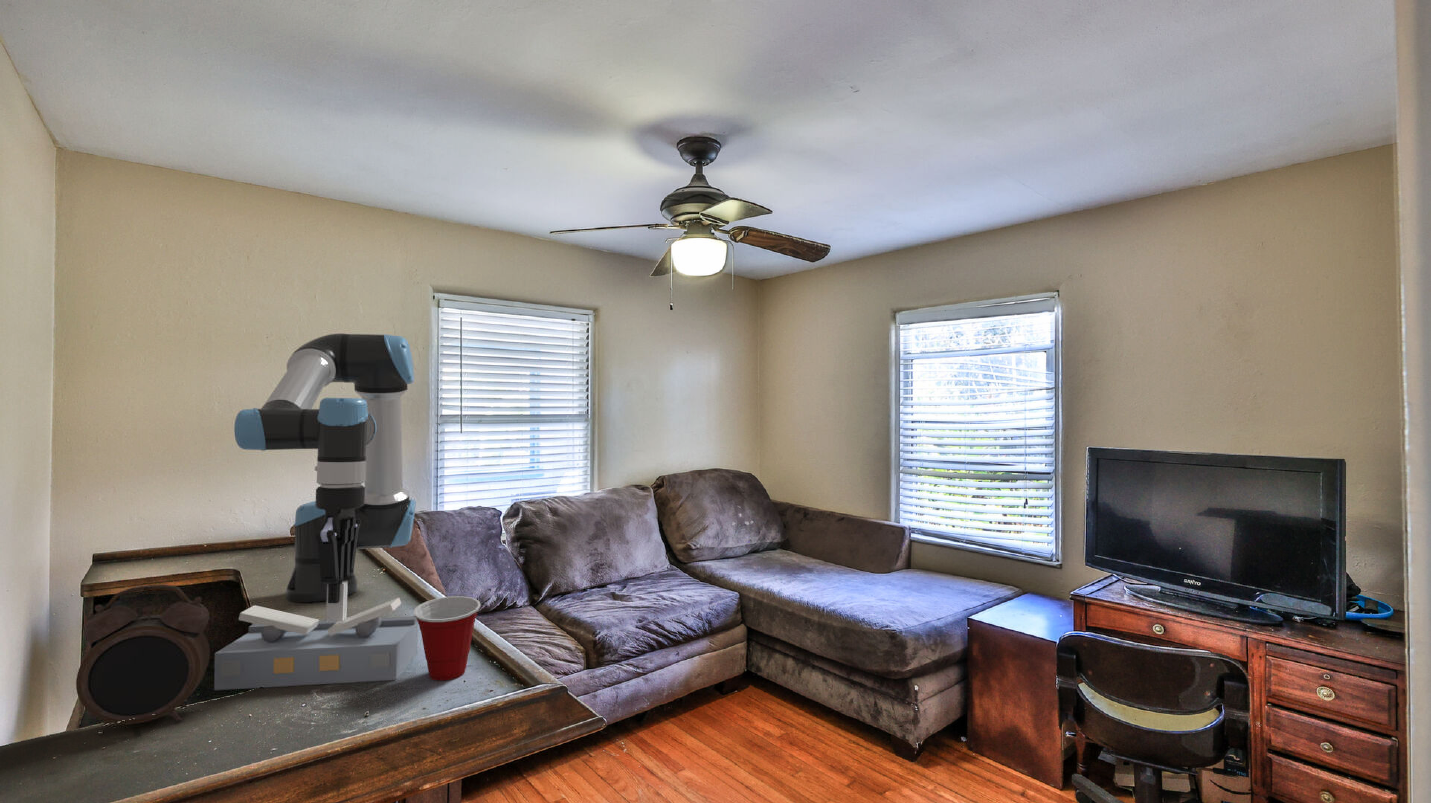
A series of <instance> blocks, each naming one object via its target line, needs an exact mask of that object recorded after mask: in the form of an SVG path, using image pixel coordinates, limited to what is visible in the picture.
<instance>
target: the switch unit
mask: <svg viewBox="0 0 1431 803" xmlns="http://www.w3.org/2000/svg"><path fill="white" fill-rule="evenodd" d="M381 620H382V622H381V625H380V626H379V627H378V628H377V629H376V630H375V631H374V632H372V633H371V634H370V635H369V636H367V637H360V636H358V635H357V633H356V630H355V629H356V626H354V627H352V628H349V629H347V630H344V631H342V632H339V633H337V634H334V635H332V636H330V635H329V633H328V629H329V628H330V627H331V626H333V625H334V624H335V623H337V622H338V621H326V619H325V620H322V619H321V620H320V619H319V622H318V625H317V627H316V628H314V629H313V630H311V631H310V632H309V633H307V634H306V635H304V634H300V633H295V632H291V631H288V632H286V633H285V634H284V635H282V636H281V637H279V638H278V639H276V640H275V641H272V642H267V641H265V640H263V638H262V636H261V632H262V630H263V629H264V628H265V627H266V626H264V625H259V624H255V623H252V624H251V625H250V626H248V632H247V633H246V634H244V635H242V636H241V637H239V638H238V639H235V640H234V641H233V642H231V643H229V644H227V645H225V647H223V648H221V649H220V650H218V651H216V652H215V653H214V676H213V677H214V684H213V685H214V691H225V690H240V689H241V690H243V689H244V690H245V689H260V687H262V686H263V688H273V687H274V688H276V687H279V688H280V687H294V686H311V685H326V684H327V685H328V684H330V685H331V684H344V683H345V684H347V683H348V684H349V683H363V682H379V681H380V682H381V681H394V680H395V681H396V680H397V679H398V678H400V676H401V674H402V673H403V672H404V671H405V669H406V668H407V667H408V666H409V664H410V663H411V662H412V661H413V660H414V659H415V657H416V656H417V655H418V639H419V638H418V635H419V634H418V630H419V629H418V626H419V624H418V621H417V619H416V617H415V616H414V615H412V616H393V617H392V616H391V617H389V616H388V617H387V616H386V617H381Z"/></svg>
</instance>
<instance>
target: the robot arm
mask: <svg viewBox="0 0 1431 803" xmlns="http://www.w3.org/2000/svg"><path fill="white" fill-rule="evenodd" d="M410 347H411V346H410V344H409V342H408V340H407V339H406V338H405V337H403V336H400V335H391V334H370V333H369V334H368V333H365V334H363V333H362V334H361V333H331V334H326V335H323V336H320V337H317V338H314V339H312V340H310V341H308V342H306V343H304V344H302V345H301V346H299V347H298V348H297V349H296V350H294V352H292V354H291V356H290V357H289V359H288V360H287V363H286V372H285V373H284V375H283V377H282V378H281V379H280V381H279V382H278V384H277V385H276V387H275V388H274V390H272V392H271V394H270V395H269V397H268V398H267V400H266V401H265V402H264V405H262V407H261V408H257V407H254V408H247V409H246V408H245V409H241V410H240V411H239V412H237V415H236V417H235V420H234V425H233V428H234V429H233V430H234V438H235V439H234V440H235V442H236V444H237V446H238V447H239V448H240V449H242V450H248V451H249V450H251V451H253V450H254V451H255V450H256V451H261V452H263V451H264V452H265V451H275V450H277V451H278V450H280V451H281V450H317V456H316V458H317V459H316V460H317V462H316V464H317V465H316V466H315V467H314V471H316V484H318V485H320V486H318V487H316V488H315V501H310V502H306V503H304V504H302V505H299V506H298V507H297V509H296V510H295V517H294V518H295V519H294V524H293V526H294V567H293V569H292V572H291V575H290V579H289V581H288V584H287V587H286V589H285V590H286V591H285V599H286V600H287V601H289V602H292V603H293V602H294V603H316V602H324V601H325V602H326V609H325V614H326V615H325V616H326V618H325V620H326V621H343V620H344V619H346V618H348V617H347V613H348V611H347V609H348V596H350V595H352V594H354V593H356V592H357V591H358V580H357V577H356V574H355V562H356V556H357V555H356V553H357V550H364V549H365V550H366V549H380V548H381V549H382V548H383V549H385V548H389V549H391V548H393V547H402V546H403V547H404V546H406V545H407V544H408V543H409V542H410V541H411V538H412V533H413V527H414V521H415V514H416V503H417V502H416V500H415V499H410V492H409V491H407V490H406V489H405V488H404V487H403V486H404V484H403V442H402V441H403V438H402V437H403V436H402V434H403V433H402V429H403V428H402V396H403V395H404V394H406V392H407V391H408V385H410V384H412V383H414V381H415V374H414V362H413V356H412V351H411V348H410ZM331 383H351V384H352V383H353V384H354V386H353V387H354V388H353V389H354V392H355V393H356V394H358V395H359V396H360V398H355V397H324V398H322V399H321V400H320V401H319V407H318V408H314V406H315V404H316V401H317V400H318V398H319V396H320V395H321V393H322V390H323V389H324V388H325V387H327V386H329V385H330V384H331ZM362 484H364V485H362Z"/></svg>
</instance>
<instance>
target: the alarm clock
mask: <svg viewBox="0 0 1431 803" xmlns="http://www.w3.org/2000/svg"><path fill="white" fill-rule="evenodd" d="M151 590H152V591H153V590H155V591H157V590H163V591H172V592H175V593H176V595H178V597H179V598H180V599H181V600H180V601H177V602H174V603H173V604H171V605H170V606H168V608H166V609H165V610H164V612H163V613H161V614H151V612H155V611H156V610H157V606H156V605H150V606H144V607H142V608H141V612H143V613H146V612H147V615H145V616H144V615H143V616H141V617H139V614H138V613H137V612H136V611H135V610H134V609H132V608H131V607H130V606H126V605H115V606H113V605H114V604H115V602H116V601H117V600H118V598H119V597H121V596H124V595H128V594H130V593H135V592H142V591H143V592H144V591H151ZM201 602H202V597H201V596H197V597H196V598H194V600H191V599H189V597H188V596H187V594H185V592H184V591H183V589H181V588H180V587H178V586H176V585H169V584H151V585H141V586H135V587H131V588H128V589H125V590H124V589H123V590H120V591H119V592H118V593H115V594H114V595H113V596H112V597H111V598H110V600H109V602H108V603H107V604H106V605H105V607H104V606H103V605H101V604H97V605H94V610H95V612H96V613H94V614H92V615H91V616H90V617H88V621H87V622H86V624H85V626H84V635H85V638H86V640H87V641H88V643H89V644H93V643H95V642H96V643H95V645H94V646H92V648H91V649H90V651H88V653H87V654H86V656H85V657H84V659H83V660H82V662H81V663H80V666H79V667H78V671H77V674H76V679H75V686H76V693H77V698H78V699H79V701H80V703H81V704H82V706H83V707H84V708H85V709H86V710H87V712H89V713H90V714H91V715H93V716H95V717H96V718H98V719H100V720H102V721H104V722H103V724H102V726H101V728H102V729H101V728H100V729H99V730H97V733H98V732H104V733H105V731H106V729H107V728H108V727H109V725H110V724H118V725H119V724H120V725H135V724H141V723H146V722H150V721H153V720H156V719H158V718H159V719H160V718H161V717H163V716H165V715H167V714H168V715H170V716H171V717H172V718H174V719H175V722H176V723H180V722H181V723H182V721H183V718H182V717H180V716H179V713H178V712H177V710H176V708H178V707H179V706H180V708H181V709H182V708H183V707H186V708H187V707H188V706H187V704H185V703H184V702H185V701H186V700H187V699H188V698H189V697H190V696H191V695H192V694H193V693H194V692H195V690H196V689H197V688H198V687H199V685H200V684H201V683H202V680H203V679H204V677H205V674H206V671H207V669H208V667H209V663H210V658H211V656H210V655H211V652H210V644H209V641H208V639H207V636H206V635H205V634H204V631H205V629H206V628H207V625H208V622H209V620H210V617H211V616H210V611H209V609H207V607H206V606H204V604H202V603H201ZM152 714H155V715H152ZM133 718H135V719H133ZM129 719H131V720H129ZM122 720H125V721H122ZM118 721H121V722H120V723H117V722H118ZM107 723H110V724H109V725H105V724H107ZM103 725H105V726H103Z"/></svg>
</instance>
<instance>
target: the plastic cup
mask: <svg viewBox="0 0 1431 803" xmlns="http://www.w3.org/2000/svg"><path fill="white" fill-rule="evenodd" d="M480 608H481V602H480V600H478V599H476V598H474V597H469V596H461V595H460V596H459V595H458V596H445V597H438V598H434V599H431V600H427V601H425V602H422V603H420V604H419V605H417V606H416V607H415V608H414V609H413V616H415V617H416V619H417V621H418V626H419V630H420V634H421V640H422V646H423V651H424V657H425V660H426V665H427V671H428V675H429V679H431V680H434V681H450V680H453V679H454V680H455V679H457V678H459V677H461V676H463V675H464V674H465V672H466V669H467V666H468V665H467V664H468V659H469V658H468V657H469V654H470V650H471V643H472V639H473V632H474V627H475V622H476V618H477V616H478V612H479V610H480Z"/></svg>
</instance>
